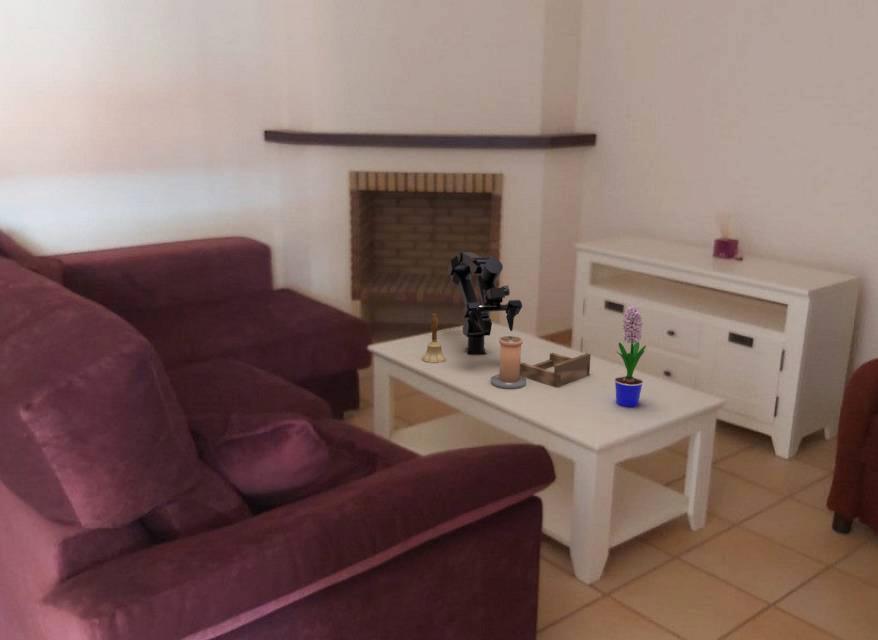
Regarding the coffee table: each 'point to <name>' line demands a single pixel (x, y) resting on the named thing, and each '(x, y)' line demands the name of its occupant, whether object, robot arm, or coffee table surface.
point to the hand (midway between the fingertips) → (498, 331)
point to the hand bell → (434, 345)
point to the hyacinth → (630, 360)
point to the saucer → (505, 385)
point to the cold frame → (558, 369)
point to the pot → (510, 358)
